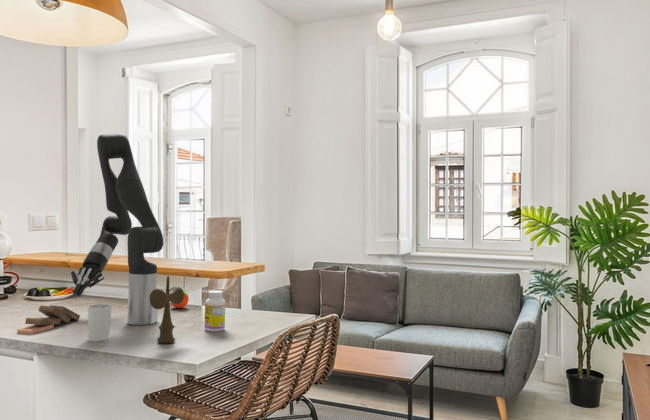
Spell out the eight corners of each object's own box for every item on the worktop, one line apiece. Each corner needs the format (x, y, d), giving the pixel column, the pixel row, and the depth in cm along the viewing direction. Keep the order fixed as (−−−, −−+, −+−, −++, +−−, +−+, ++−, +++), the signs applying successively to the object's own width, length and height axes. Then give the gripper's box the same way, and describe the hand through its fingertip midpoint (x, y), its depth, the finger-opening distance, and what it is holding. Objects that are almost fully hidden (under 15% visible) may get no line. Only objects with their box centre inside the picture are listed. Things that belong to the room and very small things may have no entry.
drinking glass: (93, 335, 169) (94, 303, 169) (114, 336, 169) (115, 304, 169) (82, 341, 162) (83, 307, 162) (104, 342, 162) (105, 308, 162)
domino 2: (40, 323, 179) (17, 329, 169) (53, 324, 178) (31, 330, 168) (40, 328, 179) (17, 335, 169) (53, 329, 178) (30, 336, 168)
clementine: (194, 308, 218) (194, 290, 218) (182, 310, 212) (183, 292, 212) (178, 306, 222) (178, 288, 222) (166, 308, 216) (167, 290, 215)
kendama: (147, 344, 160) (149, 276, 160) (168, 338, 169) (170, 273, 169) (163, 347, 158) (165, 278, 158) (184, 340, 167) (186, 275, 167)
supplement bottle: (202, 328, 184) (204, 290, 184) (222, 327, 186) (223, 289, 186) (205, 332, 178) (207, 293, 178) (226, 331, 180) (227, 292, 180)
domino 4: (67, 314, 192) (50, 305, 183) (80, 315, 190) (63, 306, 182) (65, 319, 191) (48, 310, 182) (78, 320, 190) (61, 311, 181)
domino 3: (58, 317, 187) (40, 305, 179) (70, 318, 186) (53, 306, 178) (56, 322, 186) (38, 310, 178) (68, 323, 185) (51, 311, 177)
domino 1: (47, 317, 182) (26, 317, 173) (61, 318, 181) (39, 319, 172) (47, 322, 182) (25, 323, 172) (60, 324, 181) (39, 324, 171)
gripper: (78, 249, 203) (54, 287, 191) (110, 251, 200) (88, 289, 188) (87, 262, 208) (64, 300, 196) (118, 264, 205) (97, 302, 193)
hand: (75, 295), depth 192 cm, fingers closed
